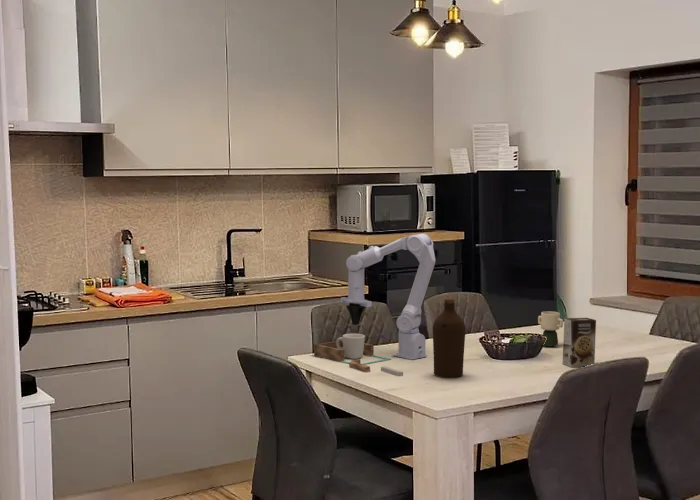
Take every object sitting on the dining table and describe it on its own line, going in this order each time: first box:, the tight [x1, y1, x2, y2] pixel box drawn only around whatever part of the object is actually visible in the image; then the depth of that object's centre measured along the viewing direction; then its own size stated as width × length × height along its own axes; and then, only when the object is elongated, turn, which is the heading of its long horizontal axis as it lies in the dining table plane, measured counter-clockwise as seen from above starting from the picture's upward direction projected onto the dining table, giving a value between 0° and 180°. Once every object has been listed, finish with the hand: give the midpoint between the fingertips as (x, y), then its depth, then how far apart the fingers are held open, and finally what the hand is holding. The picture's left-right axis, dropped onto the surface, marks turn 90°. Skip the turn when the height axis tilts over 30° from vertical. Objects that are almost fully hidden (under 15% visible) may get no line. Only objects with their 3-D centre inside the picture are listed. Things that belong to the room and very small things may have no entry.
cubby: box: [313, 340, 375, 362], centre depth 320 cm, size 15×15×4 cm
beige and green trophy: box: [537, 310, 564, 348], centre depth 340 cm, size 11×7×13 cm, turn 44°
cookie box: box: [562, 317, 597, 368], centre depth 306 cm, size 9×6×16 cm
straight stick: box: [380, 365, 404, 377], centre depth 293 cm, size 10×2×2 cm, turn 34°
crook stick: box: [348, 358, 371, 373], centre depth 299 cm, size 11×4×2 cm, turn 34°
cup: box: [335, 333, 366, 360], centre depth 317 cm, size 11×8×8 cm
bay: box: [339, 354, 392, 365], centre depth 312 cm, size 9×16×1 cm, turn 133°
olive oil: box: [432, 297, 467, 379], centre depth 290 cm, size 11×11×25 cm
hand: (355, 324), depth 327 cm, fingers closed
